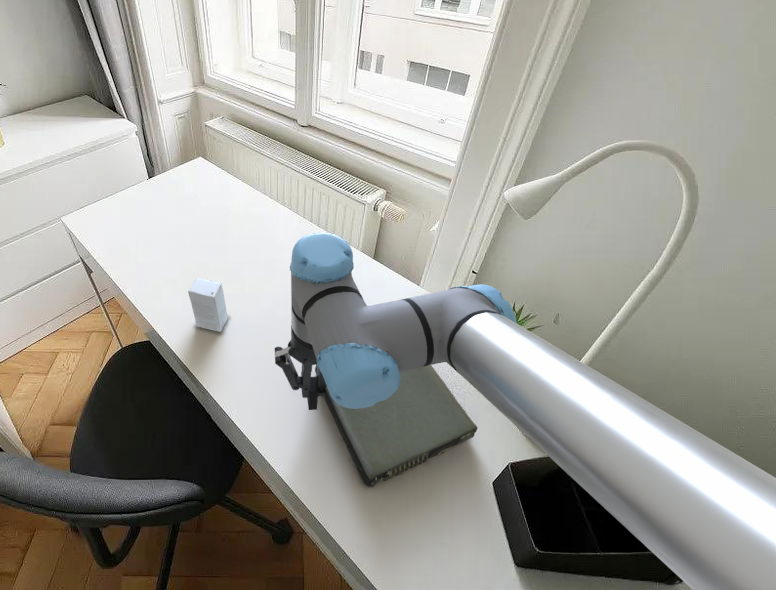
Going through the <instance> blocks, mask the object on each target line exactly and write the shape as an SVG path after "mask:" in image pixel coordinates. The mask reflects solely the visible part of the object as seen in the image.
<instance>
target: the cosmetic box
mask: <svg viewBox="0 0 776 590" xmlns="http://www.w3.org/2000/svg"><path fill="white" fill-rule="evenodd" d="M187 293H188V297H189V300H190V304H191V309H192V313H193V316H194V320H195V324H196V327H198V328H202V329H207V330H209V331H214V332H219V333H222V331H223V329H224V327H225V325H226V322H227V320H228V318H229V317H228V310H227V306H226V300H225V299H226V298H225V295H224V293H225V292H224V289H223V283H222V282H221V281H214V280H210V279H205V278H201V277H195V280H194V281H193V283H192V284H191V286H190V287H189V289H188V290H187Z"/></svg>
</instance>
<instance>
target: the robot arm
mask: <svg viewBox="0 0 776 590" xmlns="http://www.w3.org/2000/svg"><path fill="white" fill-rule="evenodd" d="M290 262H291V263H290V265H289V271H290V274H291V275H290V289H291V290H290V291H291V292H290V293H291V295H290V296H291V299H290V300H291V308H290V309H291V311H290V316H291V317H290V340H289V341H288V343H287V346H286V347H285V348H283V347H282V346H275V347H274V363H275V365H277V366H278V367H279V368H281V369H282V371H283V373H284V375H285V377H286V379H287V382H288V383H289V385H290V388H291V389H292V390H293V391H298V390H300V389H301V398H302V399H306V401H307V407H308V411H317V410H318V402H319V398H320V397H321V398H322V397H324V394H326V389H325V388H326V387H327V388H328V390H329V393H330V395H331V397H332V399H333V400H334V401H335V402H336V403H337V404H338V405H340V406H342V407H345V408H350V409H359V408H366V407H370V406H373V405H374V404H375V403H377V402H379V401H384V400H386V399H387V398H389V397H390V396H391V395H392V394H393V393H395V391H396V390H397V389H398V387H399V385H400V381H401V377H400V372H404V371H408V370H412V369H417V368H421V367H424V366H428V365H431V366H433V365H438V364H442V363H447V365H449V366H450V367H451V368H452V369H453V370H454V371H455V372H457V374H459V375H460V376H461V377H463V379H464V380H466V381H467V383H469V384H470V385H471V386H472V387H473V388H474V389H475V390H477V392H479V394H480V395H482V396H483V397H484V398H485V399H486V400H487V401H488V402H489V403H490V404H491V405H492V406H494V408H496V409H497V410H498V411H499V412H500V413H501V414H502V415H503V416H505V418H507V419H508V420H509V421H510V422H511V423H512V424H513V425H514V426H515V427H516V428H517V429H519V431H520V432H521V433H523V434H524V435H525V436H526V437H527V438H528V439H529V440H531V442H533V443H534V445H536V446H537V447H538V448H539V449H540V450H541V451H542V452H543V453H545V454H546V455H547V456H548V457H549V458H550V460H552V461H553V462H554V463H555V464H556V465H557V466H559V467H560V469H562V470H563V471H564V472H565V473H566V474H567V475H568V476H570V478H571V479H572V480H574V481H575V482H576V483H577V484H578V485H579V486H580V487H581V488H582V489H583V490H585V492H587V493H588V494H589V495H590V496H591V497H592V498H593V499H594V500H595V501H596V502H597V503H598V504H600V505H601V506H602V507H603V508H604V509H605V510H606V511H607V512H608V513H609V514H610V515H611V516H612V517H614V518H615V519H616V520H617V522H619V523H620V525H622V526H623V527H624V528H625V529H626V530H628V532H630V533H631V534H632V535H633V536H634V537H635V538H636V539H637V540H638V541H640V542H641V543H642V544H643V545H644V546H645V547H646V549H648V550H649V551H650V552H651V553H652V554H653V555H654V556H656V557H657V558H658V560H660V561H661V562H662V563H663V564H664V565H665V566H667V568H668V569H670V570H671V571H672V572H673V573H674V574H675V575H676V576H677V577H678V578H680V580H682V582H684V583H685V584H686V585H687V586H688V587H689V588H690V589H691V590H776V476H774V475H772V474H770V473H768V472H767V471H765V470H763V469H762V468H760V467H758V466H757V465H755V464H753V463H751V462H750V461H748V460H746V459H745V458H743V457H741V456H740V455H738V454H737V453H735V452H733V451H731V450H730V449H728V448H726V447H725V446H723V445H721V444H720V443H718V442H716V441H715V440H713V439H711V438H710V437H708V436H707V435H704V434H703V433H701V432H699V431H698V430H696V429H695V428H693V427H691V426H690V425H688V424H686V423H684V422H683V421H682V420H679V419H678V418H676V417H674V416H673V415H671V414H670V413H668V412H666V411H664V410H663V409H661V408H660V407H658V406H656V405H654V404H652V403H651V402H649V401H648V400H646V399H644V398H643V397H641V396H639V395H638V394H636V393H634V392H633V391H631V390H629V389H627V388H626V387H625V386H622V385H620V384H619V383H618V382H616V381H614V380H612V379H611V378H609V377H607V376H605V374H602V373H600V372H599V371H597V370H596V369H594V368H592V367H590V366H589V365H587V364H585V363H584V362H583V361H581V360H579V359H577V358H575V357H574V356H572V355H570V353H567V352H565V351H564V350H562V349H560V348H558V347H557V346H555V345H554V344H552V343H550V342H549V341H547V340H545V339H543V338H542V337H541V336H539V335H537V334H536V333H533V332H532V331H530V330H528V329H527V328H525V327H523V326H522V325H520V324H518V323H517V318H516V315H515V312H514V309H513V307H512V305H511V304H510V302H509V301H508V300H506V299H505V298H503V295H502V292H501V291H499V290H498V289H496V288H495V287H493V286H491V285H488V284H473V285H461V286H458V285H456V286H453V287H451V288H448V289H445V290H440V291H435V292H431V293H426V294H421V295H416V296H412V297H407V298H406V297H405V298H401V299H396V300H392V301H387V302H382V303H376V304H372V305H367V303H366V301H365V300H364V298H363V296H362V294H361V292H360V290H359V288H358V286H357V284H356V282H355V280H354V278H353V273H352V271H353V270H354V253H353V250H352V246H351V245H350V243H348V241H346V240H345V239H344V238H343V237H341V236H339V235H337V234H334V233H331V232H326V231H325V232H323V231H322V232H321V231H319V232H317V233H309V234H306V235H304V236H302V237H301V238H300V239H298V240H297V241H296V243H295V244H294V246H293V248H292V251H291V260H290ZM291 357H292V358H293V359H295V360H296V362H299V363H300V364H301V372H300V376H299V373H298V371H297V369H296V367H295V365H294V362H293V360H292V358H291ZM316 365H317V375H316V374H315V376H312V372H313V366H316ZM316 376H317V377H316Z"/></svg>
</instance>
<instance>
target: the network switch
mask: <svg viewBox="0 0 776 590" xmlns="http://www.w3.org/2000/svg"><path fill="white" fill-rule="evenodd" d="M314 372H315V377H317V376H316V375H317V365H315V368H314ZM400 377H401V381H400V385H399V387H398V389H397V390H396V391H395V393H393V394H392V395H391V396H390V397H389V398H387V399H386V400H384V401H379V402H377V403H375V404H374V405H373V406H370V407H366V408H359V409H350V408H345V407H342V406H340V405H338V404H337V403H336V402H335V401H334V400H333V399H332V397H331V395H330V393H329V390H328V388H327V387H326V388H325V389H326V394H324V396H323V397H324V400H325V402H326V404H327V406H328V409H329V411H330V413H331V415H332V418H333V420H334V423H335V424H336V426H337V429H338V431H339V433H340V435H341V437H342V440H343V442H344V443H345V445H346V448H347V450H348V452H349V454H350V457H351V458H352V461H353V463H354V465H355V467H356V468H357V471H358V474H359V476H360V478H361V480H362V481H363V482H364V485H366V486H367V488H371V487H374V486H376V485H377V484H379V483H382V482H386V481H388V480H391V479H393V478H394V477H397V476H399V475H403V474H404V473H405V472H407V471H410V470H411V469H413V468H414V469H415V467H417V466H421V465H422V464H423V463H426V462H427V461H428V459H431V458H432V457H436V456H438V455H442V454H444V453H445V452H446V451H449V450H452V449H453V448H454V447H457V446H459V445H460V444H462V443H464V442H467V441H468V440H469V441H470V440H471V439H472V438H474V436H476V435H475V433H476V432H477V430H478V426H477V425H476V424H475V422H474V421H473V420H472V419H471V417H470V416H469V415H468V414H467V412H466V411H465V409H464V408H463V407H462V405H461V403H459V401H458V400H457V398H456V397H455V396H454V395H453V393H452V391H451V390H450V388H449V387H448V385H446V383H445V382H444V380H443V379H442V378H441V376H440V375H439V374H438V372H437V371H436V370H435V368H434V366H433V365H428V366H424V367H421V368H417V369H412V370H408V371H404V372H400Z"/></svg>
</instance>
